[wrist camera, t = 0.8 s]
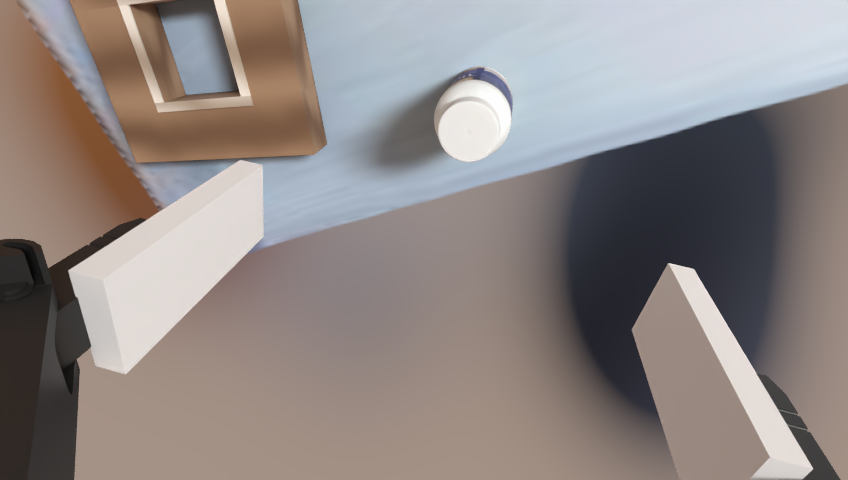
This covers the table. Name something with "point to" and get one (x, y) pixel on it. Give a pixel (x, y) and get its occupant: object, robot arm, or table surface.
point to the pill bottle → (474, 114)
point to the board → (211, 112)
